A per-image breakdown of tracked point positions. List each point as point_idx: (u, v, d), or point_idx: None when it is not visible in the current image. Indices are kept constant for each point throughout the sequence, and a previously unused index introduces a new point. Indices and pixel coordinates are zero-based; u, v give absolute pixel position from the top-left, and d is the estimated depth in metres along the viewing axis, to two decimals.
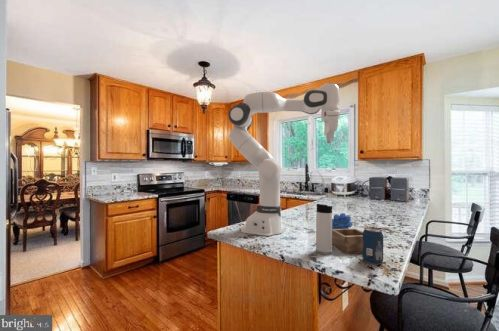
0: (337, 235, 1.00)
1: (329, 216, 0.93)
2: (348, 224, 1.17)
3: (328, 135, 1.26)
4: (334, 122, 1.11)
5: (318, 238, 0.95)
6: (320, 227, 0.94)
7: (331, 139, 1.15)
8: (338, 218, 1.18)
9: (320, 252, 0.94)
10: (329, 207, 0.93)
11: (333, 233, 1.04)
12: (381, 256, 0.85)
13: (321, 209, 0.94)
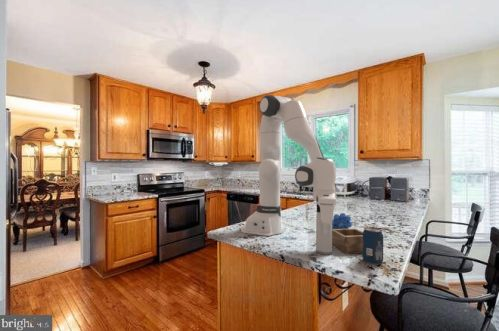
0: (337, 235, 1.00)
1: None
2: (348, 224, 1.17)
3: None
4: (328, 215, 0.86)
5: (318, 238, 0.95)
6: (320, 227, 0.94)
7: (325, 231, 0.92)
8: (338, 218, 1.18)
9: (320, 252, 0.94)
10: None
11: (333, 233, 1.04)
12: (381, 256, 0.85)
13: None
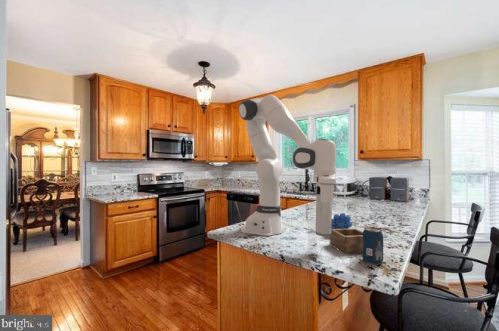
0: (337, 235, 1.00)
1: None
2: (348, 224, 1.17)
3: None
4: (329, 194, 0.87)
5: (318, 220, 0.95)
6: (320, 209, 0.94)
7: (324, 211, 0.92)
8: (338, 218, 1.18)
9: (319, 234, 0.94)
10: None
11: (333, 233, 1.04)
12: (381, 256, 0.85)
13: None
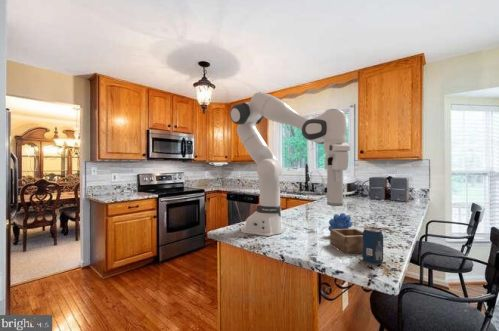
0: (337, 235, 1.00)
1: None
2: (348, 224, 1.17)
3: None
4: (344, 160, 0.88)
5: (330, 190, 0.96)
6: (332, 179, 0.96)
7: (337, 179, 0.94)
8: (338, 218, 1.18)
9: (332, 204, 0.96)
10: None
11: (333, 233, 1.04)
12: (381, 256, 0.85)
13: None
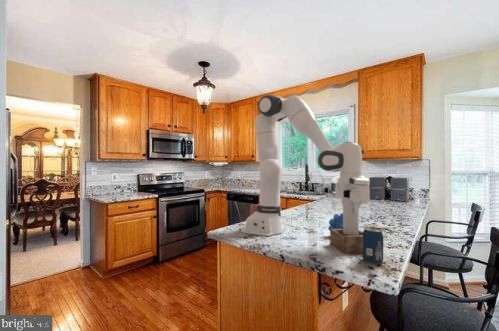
0: (337, 235, 1.00)
1: None
2: None
3: None
4: (366, 194, 0.92)
5: (348, 222, 0.99)
6: (350, 212, 0.99)
7: (356, 210, 0.97)
8: (338, 218, 1.18)
9: (350, 235, 0.99)
10: None
11: (333, 233, 1.04)
12: (381, 256, 0.85)
13: None
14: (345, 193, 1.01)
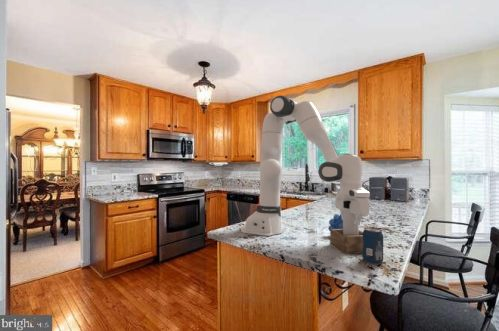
0: (337, 235, 1.00)
1: None
2: None
3: None
4: (366, 207, 0.92)
5: (348, 233, 1.00)
6: (350, 223, 0.99)
7: (357, 223, 0.96)
8: (338, 218, 1.18)
9: None
10: None
11: (333, 233, 1.04)
12: (381, 256, 0.85)
13: None
14: (345, 204, 1.01)
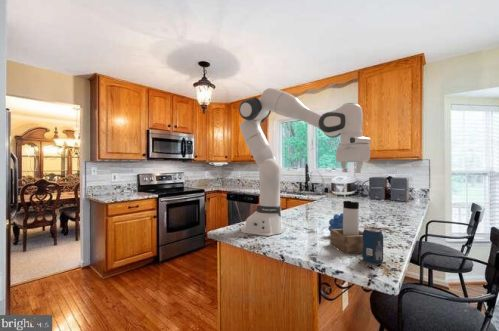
0: (337, 235, 1.00)
1: (358, 211, 1.00)
2: None
3: (344, 163, 1.07)
4: (367, 152, 0.92)
5: (348, 233, 1.00)
6: (350, 223, 0.99)
7: (358, 170, 0.96)
8: (338, 218, 1.18)
9: None
10: (358, 203, 1.00)
11: (333, 233, 1.04)
12: (381, 256, 0.85)
13: (351, 205, 0.99)
14: (345, 204, 1.01)
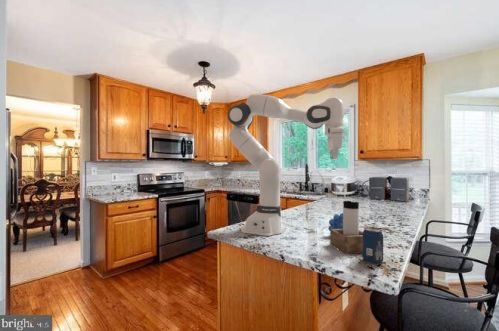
0: (337, 235, 1.00)
1: (358, 211, 1.00)
2: None
3: (332, 151, 1.22)
4: (338, 140, 1.07)
5: (348, 233, 0.99)
6: (350, 223, 0.99)
7: (335, 156, 1.11)
8: (338, 218, 1.18)
9: None
10: (358, 203, 1.00)
11: (333, 233, 1.04)
12: (381, 256, 0.85)
13: (351, 205, 0.99)
14: (345, 204, 1.01)
